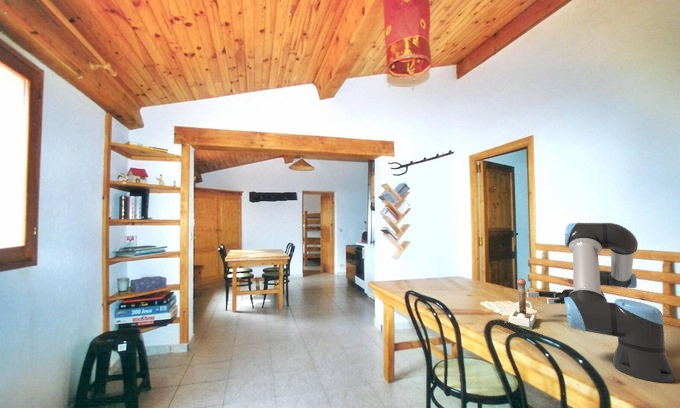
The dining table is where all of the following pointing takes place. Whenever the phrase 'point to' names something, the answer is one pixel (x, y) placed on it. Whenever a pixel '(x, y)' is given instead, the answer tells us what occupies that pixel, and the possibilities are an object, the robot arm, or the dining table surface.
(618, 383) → the dining table surface
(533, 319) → the white open tray
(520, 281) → the brown upright rod
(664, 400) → the dining table surface
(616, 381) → the dining table surface
